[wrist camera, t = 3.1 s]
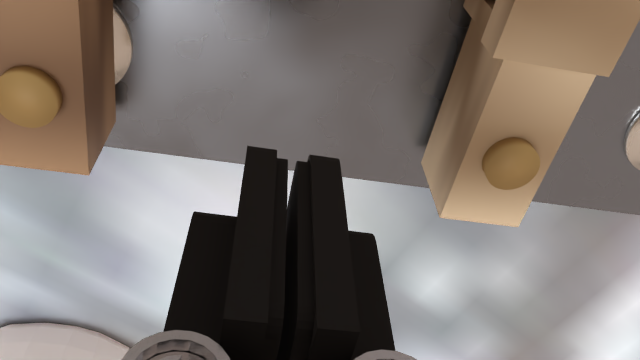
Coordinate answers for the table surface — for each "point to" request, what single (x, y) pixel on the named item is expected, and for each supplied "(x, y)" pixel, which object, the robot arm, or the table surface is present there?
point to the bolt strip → (340, 90)
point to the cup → (57, 343)
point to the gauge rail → (56, 83)
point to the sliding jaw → (517, 99)
